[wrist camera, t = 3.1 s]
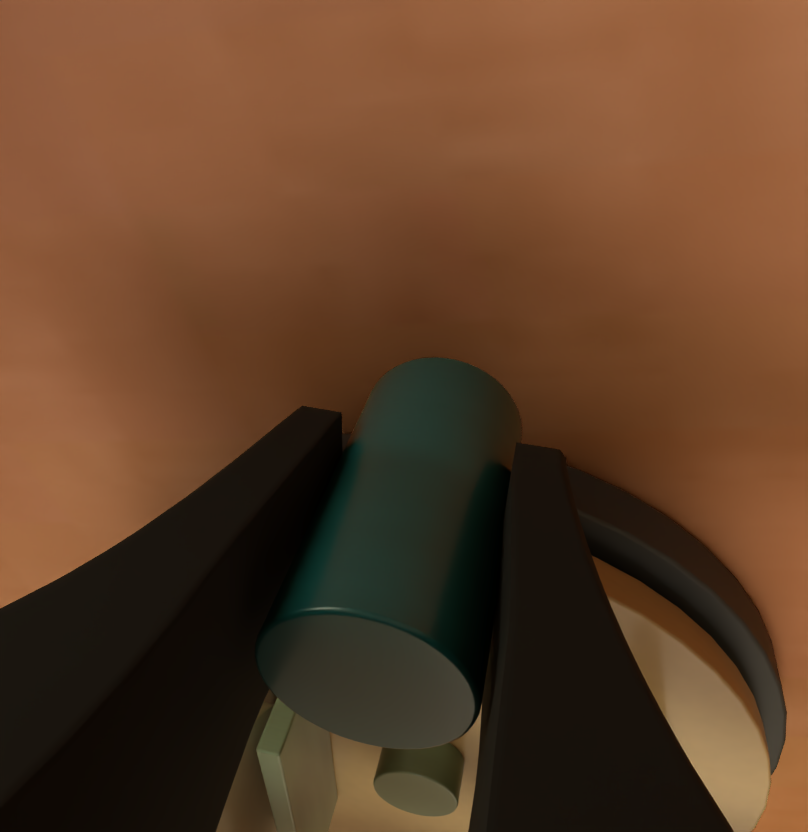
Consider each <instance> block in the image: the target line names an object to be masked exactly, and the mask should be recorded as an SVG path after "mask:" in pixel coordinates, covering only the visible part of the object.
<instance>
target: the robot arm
mask: <svg viewBox="0 0 808 832" xmlns="http://www.w3.org/2000/svg"><path fill="white" fill-rule="evenodd" d="M342 453H343V449H342V413H341V412H336V411H330V410H324V409H318V408H313V407H307V406H301V407H300V408H299V409H297V410H296V411H295V412H293V413H292V414H291V415H290V416H288V417H287V418H286V419H285V420H283V421H282V422H281V423H280V424H278V425H277V426H276V427H275V428H274V429H272V430H271V431H270V432H269V433H267V434H266V435H265V436H264V437H263V438H261V439H260V440H259V441H258V442H256V443H255V444H254V445H253V446H252V447H250V448H249V449H248V450H247V451H245V452H244V453H243V454H242V455H240V456H239V457H238V458H237V459H235V460H234V461H233V462H232V463H230V464H229V465H228V466H226V467H225V468H224V469H222V470H221V471H220V472H219V473H217V474H216V475H215V476H213V477H212V478H211V479H209V480H208V481H207V482H206V483H204V484H203V485H202V486H200V487H199V488H198V489H196V490H195V491H194V492H192V493H191V494H190V495H188V496H187V497H186V498H184V499H183V500H181V501H180V502H178V503H177V504H176V505H174V506H173V507H171V508H170V509H168V510H167V511H166V512H164V513H163V514H161V515H160V516H158V517H157V518H156V519H154V520H153V521H151V522H150V523H148V524H147V525H146V526H144V527H143V528H141V529H140V530H138V531H137V532H135V533H134V534H132V535H131V536H129V537H127V538H126V539H124V540H123V541H121V542H120V543H118V544H117V545H115V546H113V547H112V548H110V549H109V550H107V551H105V552H104V553H102V554H100V555H99V556H97V557H95V558H94V559H92V560H90V561H88V562H87V563H85V564H83V565H82V566H80V567H78V568H76V569H75V570H73V571H71V572H70V573H68V574H66V575H64V576H62V577H61V578H59V579H57V580H55V581H53V582H52V583H50V584H48V585H46V586H44V587H42V588H40V589H38V590H36V591H34V592H32V593H30V594H28V595H26V596H24V597H22V598H20V599H18V600H16V601H14V602H12V603H10V604H9V605H7V606H5V607H3V608H1V609H0V832H216V830H217V827H218V824H219V821H220V818H221V815H222V813H223V810H224V807H225V804H226V801H227V798H228V795H229V792H230V789H231V787H232V784H233V781H234V778H235V775H236V773H237V770H238V767H239V764H240V761H241V759H242V756H243V753H244V750H245V747H246V745H247V742H248V739H249V736H250V733H251V731H252V728H253V726H254V723H255V721H256V718H257V716H258V714H259V711H260V709H261V707H262V704H263V702H264V699H265V697H266V695H267V693H268V691H269V688H268V686H267V685H266V683H265V682H264V681H263V679H262V677H261V675H260V673H259V671H258V668H257V665H256V660H255V643H256V639H257V637H258V634H259V632H260V629H261V627H262V625H263V623H264V621H265V619H266V617H267V614H268V612H269V610H270V608H271V606H272V604H273V602H274V599H275V597H276V595H277V593H278V591H279V589H280V586H281V584H282V582H283V580H284V578H285V576H286V574H287V571H288V569H289V567H290V565H291V563H292V561H293V559H294V556H295V554H296V552H297V550H298V548H299V546H300V543H301V541H302V539H303V537H304V535H305V533H306V531H307V528H308V526H309V524H310V522H311V520H312V518H313V516H314V513H315V511H316V509H317V507H318V505H319V503H320V500H321V498H322V496H323V494H324V492H325V490H326V488H327V485H328V483H329V481H330V479H331V477H332V475H333V473H334V470H335V468H336V466H337V464H338V462H339V460H340V457H341V455H342ZM468 832H734V831H733V829H732V827H731V826H730V824H729V823H728V821H727V819H726V818H725V816H724V815H723V813H722V811H721V810H720V808H719V807H718V805H717V804H716V802H715V800H714V799H713V797H712V796H711V794H710V792H709V791H708V789H707V788H706V786H705V785H704V783H703V781H702V780H701V778H700V777H699V775H698V773H697V772H696V770H695V769H694V767H693V766H692V764H691V762H690V760H689V759H688V757H687V755H686V754H685V752H684V750H683V748H682V746H681V745H680V743H679V741H678V739H677V738H676V736H675V734H674V732H673V730H672V729H671V727H670V725H669V723H668V722H667V720H666V718H665V716H664V715H663V713H662V711H661V709H660V707H659V705H658V703H657V701H656V699H655V697H654V696H653V694H652V692H651V690H650V688H649V686H648V684H647V682H646V680H645V678H644V676H643V674H642V672H641V670H640V668H639V666H638V664H637V662H636V660H635V658H634V656H633V654H632V652H631V650H630V648H629V645H628V643H627V641H626V639H625V637H624V635H623V632H622V630H621V628H620V625H619V623H618V621H617V619H616V616H615V614H614V612H613V609H612V607H611V605H610V602H609V600H608V597H607V595H606V592H605V590H604V587H603V585H602V582H601V580H600V577H599V574H598V572H597V569H596V566H595V563H594V561H593V558H592V555H591V552H590V550H589V547H588V544H587V541H586V538H585V535H584V532H583V529H582V526H581V522H580V519H579V515H578V512H577V508H576V505H575V501H574V497H573V493H572V489H571V485H570V480H569V475H568V469H567V462H566V457H565V456H564V455H563V453H562V452H561V451H560V450H557V449H552V448H546V447H540V446H534V445H528V444H522V443H517V442H516V447H515V453H514V458H513V464H512V470H511V476H510V482H509V488H508V494H507V500H506V506H505V512H504V519H503V529H502V545H501V559H500V573H499V585H498V596H497V605H496V612H495V618H494V625H493V632H492V638H491V645H490V652H489V658H488V665H487V672H486V678H485V685H484V692H483V698H482V711H481V727H480V742H479V755H478V764H477V774H476V784H475V791H474V797H473V804H472V810H471V817H470V824H469V830H468Z"/></svg>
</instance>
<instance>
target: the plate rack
mask: <svg viewBox="0 0 808 832" xmlns="http://www.w3.org/2000/svg"><path fill="white" fill-rule="evenodd" d="M521 439H522V422H521V417H520V413H519V410H518V408H517V406H516V404H515V402H514V400H513V399H512V397H511V396H510V394H509V393H508V391H507V390H506V389H505V388H504V387H503V385H501V384H500V383H499V382H498V381H497V380H496V379H495V378H494V377H492V376H491V375H489V374H488V373H487V372H485V371H483V370H481V369H479V368H478V367H475V366H473V365H471V364H468V363H465V362H462V361H459V360H454V359H449V358H439V357H431V358H421V359H415V360H411V361H408V362H405V363H403V364H401V365H398V366H396V367H394V368H393V369H391V370H390V371H388V372H387V373H386V374H385V375H383V376H382V377H381V378H380V379H379V381H378V382H377V383H376V384H375V386H374V388H373V389H372V391H371V393H370V395H369V397H368V399H367V402H366V404H365V406H364V408H363V410H362V412H361V414H360V417H359V419H358V421H357V423H356V425H355V427H354V430H353V432H352V434H351V436H350V438H349V440H348V442H347V445H346V447H345V449H344V451H343V453H342V455H341V457H340V460H339V462H338V464H337V466H336V468H335V470H334V473H333V475H332V477H331V479H330V481H329V483H328V485H327V488H326V490H325V492H324V494H323V496H322V498H321V500H320V503H319V505H318V507H317V509H316V511H315V513H314V516H313V518H312V520H311V522H310V524H309V526H308V528H307V531H306V533H305V535H304V537H303V539H302V541H301V543H300V546H299V548H298V550H297V552H296V554H295V556H294V559H293V561H292V563H291V565H290V567H289V569H288V571H287V574H286V576H285V578H284V580H283V582H282V584H281V586H280V589H279V591H278V593H277V595H276V597H275V599H274V602H273V604H272V606H271V608H270V610H269V612H268V614H267V617H266V619H265V621H264V623H263V625H262V627H261V629H260V632H259V634H258V637H257V639H256V643H255V660H256V665H257V668H258V671H259V673H260V675H261V677H262V679H263V681H264V682H265V683H266V685H267V686H268V688H269V691H268V693H267V695H266V697H265V699H264V702H263V704H262V707H261V709H260V711H259V714H258V716H257V718H256V721H255V723H254V726H253V728H252V731H251V733H250V736H249V739H248V742H247V745H246V747H245V750H244V753H243V756H242V759H241V761H240V764H239V767H238V770H237V773H236V775H235V778H234V781H233V784H232V787H231V789H230V792H229V795H228V798H227V801H226V804H225V807H224V810H223V813H222V815H221V818H220V821H219V824H218V827H217V830H216V832H468V830H469V824H470V817H471V810H472V804H473V797H474V791H475V784H476V774H477V764H478V755H479V742H480V727H481V711H482V698H483V692H484V685H485V678H486V672H487V665H488V658H489V652H490V645H491V638H492V632H493V625H494V618H495V612H496V605H497V596H498V585H499V573H500V559H501V545H502V529H503V519H504V512H505V506H506V500H507V494H508V488H509V482H510V476H511V470H512V464H513V458H514V453H515V447H516V442H517V443H521ZM592 558H593V561H594V563H595V566H596V569H597V572H598V574H599V577H600V580H601V582H602V585H603V587H604V590H605V592H606V595H607V597H608V600H609V602H610V605H611V607H612V609H613V612H614V614H615V616H616V619H617V621H618V623H619V625H620V628H621V630H622V632H623V635H624V637H625V639H626V641H627V643H628V645H629V648H630V650H631V652H632V654H633V656H634V658H635V660H636V662H637V664H638V666H639V668H640V670H641V672H642V674H643V676H644V678H645V680H646V682H647V684H648V686H649V688H650V690H651V692H652V694H653V696H654V697H655V699H656V701H657V703H658V705H659V707H660V709H661V711H662V713H663V715H664V716H665V718H666V720H667V722H668V723H669V725H670V727H671V729H672V730H673V732H674V734H675V736H676V738H677V739H678V741H679V743H680V745H681V746H682V748H683V750H684V752H685V754H686V755H687V757H688V759H689V760H690V762H691V764H692V766H693V767H694V769H695V770H696V772H697V773H698V775H699V777H700V778H701V780H702V781H703V783H704V785H705V786H706V788H707V789H708V791H709V792H710V794H711V796H712V797H713V799H714V800H715V802H716V804H717V805H718V807H719V808H720V810H721V811H722V813H723V815H724V816H725V818H726V819H727V821H728V823H729V824H730V826H731V827H732V829H733V831H734V832H752V831H753V830H754V828H755V827H756V825H757V823H758V821H759V819H760V817H761V815H762V813H763V812H764V810H765V808H766V804H767V800H768V795H769V790H770V785H771V772H770V758H769V752H768V746H767V741H766V736H765V731H764V726H763V722H762V719H761V716H760V713H759V710H758V707H757V704H756V701H755V698H754V696H753V694H752V692H751V690H750V689H749V687H748V685H747V684H746V682H745V680H744V678H743V677H742V675H741V673H740V672H739V670H738V668H737V667H736V665H735V664H734V663H733V662H732V661H731V659H730V658H729V657H728V656H727V655H726V653H725V652H724V651H723V650H722V649H721V648H720V646H719V645H718V644H717V643H716V642H715V640H714V639H713V638H712V637H711V636H710V635H709V634H708V633H707V632H706V631H705V630H703V629H702V628H701V627H700V626H699V625H698V624H697V623H695V622H694V621H693V620H692V619H691V618H690V617H689V616H688V615H686V614H685V613H684V612H683V611H682V610H681V609H680V608H679V607H677V606H676V605H674V604H673V603H671V602H670V601H668V600H667V599H665V598H664V597H662V596H661V595H660V594H658V593H657V592H655V591H654V590H652V589H651V588H649V587H648V586H646V585H645V584H644V583H642V582H641V581H639V580H637V579H635V578H634V577H632V576H630V575H628V574H626V573H624V572H622V571H620V570H619V569H617V568H615V567H613V566H611V565H609V564H607V563H606V562H604V561H602V560H600V559H598V558H596V557H594V556H592Z"/></svg>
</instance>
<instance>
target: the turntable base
mask: <svg viewBox="0 0 808 832" xmlns="http://www.w3.org/2000/svg"><path fill="white" fill-rule="evenodd" d="M351 434H352V433H349V434H342V449H343V451H344V449H345V447H346V445H347V442H348V440H349V438H350V436H351ZM567 469H568V475H569V480H570V485H571V489H572V493H573V497H574V501H575V505H576V508H577V512H578V515H579V519H580V522H581V526H582V529H583V532H584V535H585V538H586V541H587V544H588V547H589V550H590V552H591V555H592V556H594V557H596V558H598V559H600V560H602V561H604V562H606V563H607V564H609V565H611V566H613V567H615V568H617V569H619V570H620V571H622V572H624V573H626V574H628V575H630V576H632V577H634V578H635V579H637V580H639V581H641V582H642V583H644V584H645V585H646V586H648V587H649V588H651V589H652V590H654V591H655V592H657V593H658V594H660V595H661V596H662V597H664V598H665V599H667V600H668V601H670V602H671V603H673V604H674V605H676V606H677V607H679V608H680V609H681V610H682V611H683V612H684V613H685V614H686V615H688V616H689V617H690V618H691V619H692V620H693V621H694V622H695V623H697V624H698V625H699V626H700V627H701V628H702V629H703V630H705V631H706V632H707V633H708V634H709V635H710V636H711V637H712V638H713V639H714V640H715V642H716V643H717V644H718V645H719V646H720V648H721V649H722V650H723V651H724V652H725V653H726V655H727V656H728V657H729V658H730V659H731V661H732V662H733V663H734V664H735V665H736V667H737V668H738V670H739V672H740V673H741V675H742V677H743V678H744V680H745V682H746V684H747V685H748V687H749V689H750V690H751V692H752V694H753V696H754V698H755V701H756V704H757V707H758V710H759V713H760V716H761V719H762V722H763V726H764V731H765V736H766V741H767V746H768V752H769V758H770V772H771V775H772V774H773V772H774V770H775V769H776V767H777V764H778V761H779V758H780V755H781V752H782V749H783V746H784V743H785V737H786V718H787V711H786V706H785V701H784V696H783V691H782V687H781V682H780V677H779V673H778V668H777V664H776V659H775V655H774V650H773V646H772V642H771V639H770V637H769V635H768V632H767V630H766V628H765V625H764V623H763V621H762V619H761V616H760V614H759V612H758V610H757V608H756V607H755V606H754V604H753V603H752V601H751V600H750V598H749V597H748V595H747V594H746V593H745V591H744V590H743V588H742V587H741V585H740V584H739V582H738V581H737V579H736V578H735V577H734V576H733V575H732V574H731V573H730V572H729V571H728V570H727V569H726V568H725V567H724V566H723V565H722V564H721V562H720V561H719V560H718V559H717V558H716V557H715V556H714V555H713V554H712V553H711V552H710V551H709V550H708V549H707V548H706V547H705V546H704V545H703V544H701V543H700V542H699V541H698V540H696V539H695V538H694V537H692V536H691V535H690V534H689V533H687V532H686V531H685V530H684V529H682V528H681V527H680V526H679V525H677V524H676V523H675V522H674V521H672V520H671V519H670V518H668V517H667V516H665V515H663V514H662V513H660V512H658V511H657V510H655V509H654V508H652V507H650V506H649V505H647V504H645V503H644V502H642V501H640V500H639V499H637V498H635V497H634V496H632V495H631V494H629V493H627V492H625V491H623V490H621V489H619V488H617V487H615V486H613V485H610V484H608V483H606V482H604V481H602V480H600V479H598V478H595V477H593V476H591V475H589V474H587V473H585V472H583V471H580V470H578V469H575V468H572V467H569V466H567Z"/></svg>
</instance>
